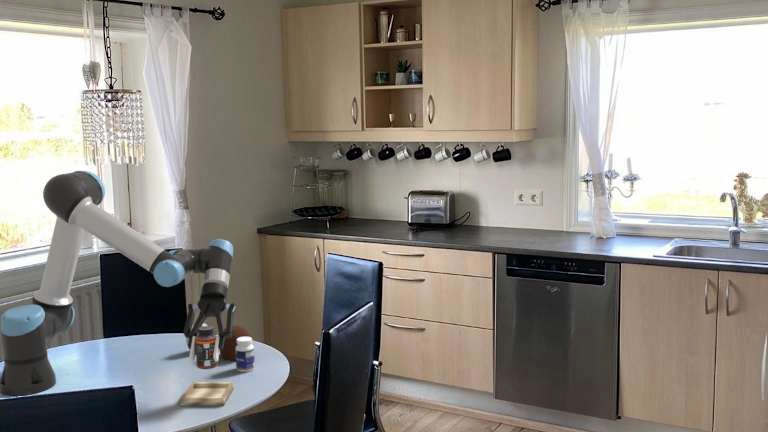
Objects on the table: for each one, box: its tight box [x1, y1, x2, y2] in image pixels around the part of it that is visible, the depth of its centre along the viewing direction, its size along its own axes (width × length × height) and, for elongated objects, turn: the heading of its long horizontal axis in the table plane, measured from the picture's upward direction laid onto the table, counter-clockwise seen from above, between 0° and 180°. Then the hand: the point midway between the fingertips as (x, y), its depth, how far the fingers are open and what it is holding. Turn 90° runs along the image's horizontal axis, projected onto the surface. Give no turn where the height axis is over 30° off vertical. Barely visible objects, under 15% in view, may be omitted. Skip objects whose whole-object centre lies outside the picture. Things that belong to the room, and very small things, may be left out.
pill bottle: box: [235, 336, 256, 373], centre depth 236 cm, size 6×6×10 cm
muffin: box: [217, 325, 252, 362], centre depth 248 cm, size 12×11×10 cm
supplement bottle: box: [195, 325, 219, 370], centre depth 212 cm, size 6×6×11 cm
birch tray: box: [179, 381, 234, 407], centre depth 214 cm, size 12×12×2 cm
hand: (203, 359), depth 208 cm, fingers closed on supplement bottle, 6 cm apart
